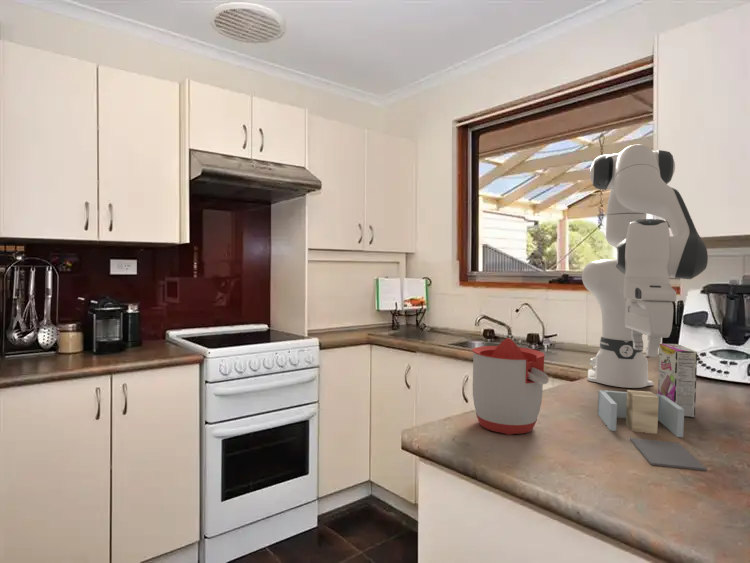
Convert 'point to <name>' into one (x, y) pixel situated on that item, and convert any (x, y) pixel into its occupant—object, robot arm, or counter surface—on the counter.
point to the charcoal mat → (667, 454)
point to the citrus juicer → (508, 386)
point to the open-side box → (615, 406)
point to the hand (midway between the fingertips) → (644, 353)
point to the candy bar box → (678, 376)
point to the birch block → (642, 411)
